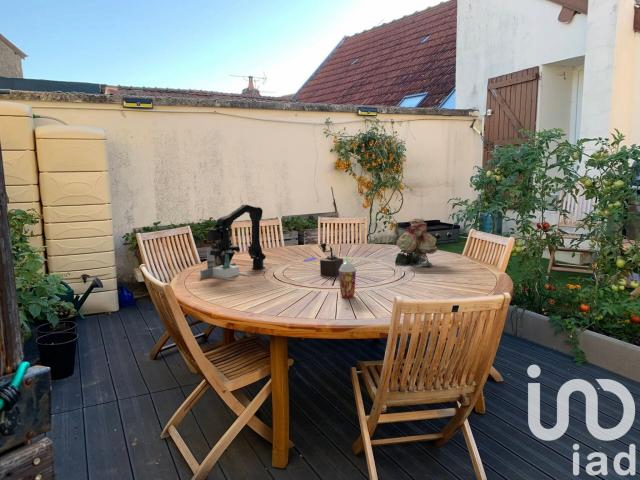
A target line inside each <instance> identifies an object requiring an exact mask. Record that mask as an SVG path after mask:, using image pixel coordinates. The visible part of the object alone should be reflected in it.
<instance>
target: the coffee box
mask: <svg viewBox="0 0 640 480" xmlns="http://www.w3.org/2000/svg"><path fill="white" fill-rule="evenodd" d="M205 248H206V265H207V268H206V269H208V268H212V267H216V266H221V265H222V263H221V261H220V259H219V257H218V256H214V255H210V251H211V250H214V249H212V247H211V246H207V247H205Z"/></svg>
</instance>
